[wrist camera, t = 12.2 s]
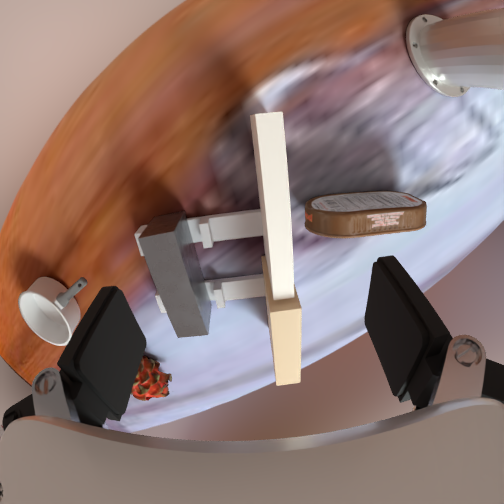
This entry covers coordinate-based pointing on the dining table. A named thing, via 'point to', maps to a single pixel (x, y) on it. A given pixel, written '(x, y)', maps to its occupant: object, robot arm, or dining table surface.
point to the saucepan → (51, 309)
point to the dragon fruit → (150, 381)
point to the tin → (364, 214)
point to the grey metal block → (177, 273)
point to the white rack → (275, 244)
